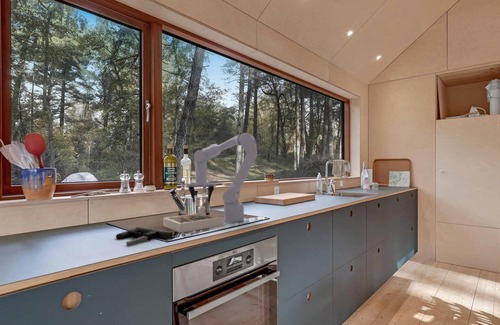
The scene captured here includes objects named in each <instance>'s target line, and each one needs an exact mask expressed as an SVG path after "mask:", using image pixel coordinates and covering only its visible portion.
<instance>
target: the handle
mask: <svg viewBox="0 0 500 325" xmlns="http://www.w3.org/2000/svg"><path fill="white" fill-rule="evenodd" d="M205 212H206V206H205V205H204V206H202V205H201V206H198V213H199V220H201V219H205Z"/></svg>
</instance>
